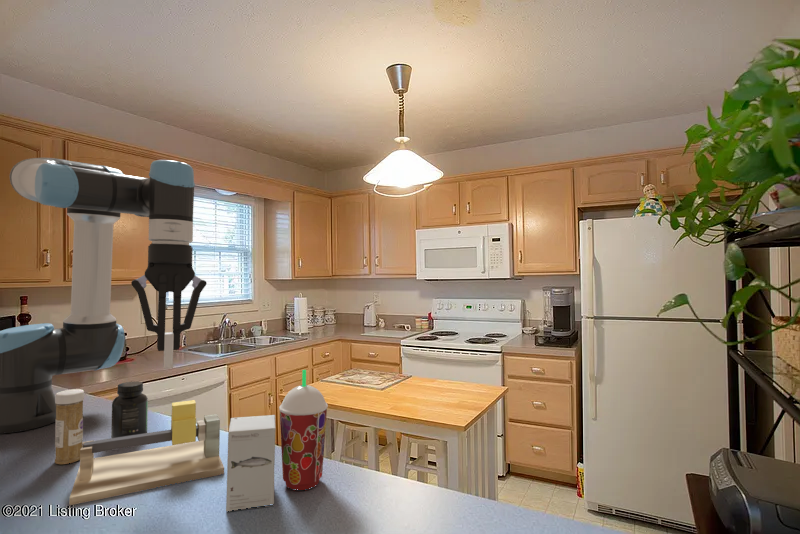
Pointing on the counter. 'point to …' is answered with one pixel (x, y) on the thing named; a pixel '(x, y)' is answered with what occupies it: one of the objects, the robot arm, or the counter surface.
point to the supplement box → (250, 462)
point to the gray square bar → (130, 441)
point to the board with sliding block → (149, 466)
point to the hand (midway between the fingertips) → (168, 367)
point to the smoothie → (303, 435)
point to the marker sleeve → (183, 422)
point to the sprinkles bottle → (68, 425)
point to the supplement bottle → (129, 410)
